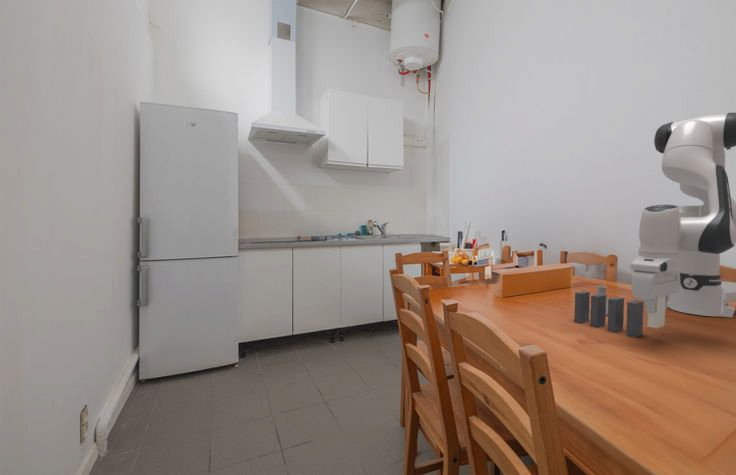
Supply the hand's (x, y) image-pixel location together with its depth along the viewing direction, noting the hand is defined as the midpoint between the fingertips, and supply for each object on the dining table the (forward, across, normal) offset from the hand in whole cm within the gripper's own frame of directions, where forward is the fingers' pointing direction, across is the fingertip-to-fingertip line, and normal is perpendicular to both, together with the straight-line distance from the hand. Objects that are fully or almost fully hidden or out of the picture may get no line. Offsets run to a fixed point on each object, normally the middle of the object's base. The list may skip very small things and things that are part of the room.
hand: (656, 311), depth 93 cm
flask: (+8, -16, -22) cm, 29 cm away
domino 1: (+8, 0, -20) cm, 22 cm away
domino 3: (+8, 0, -10) cm, 13 cm away
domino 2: (+8, 0, -15) cm, 17 cm away
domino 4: (+8, 0, -5) cm, 10 cm away
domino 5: (+4, 0, 0) cm, 4 cm away
